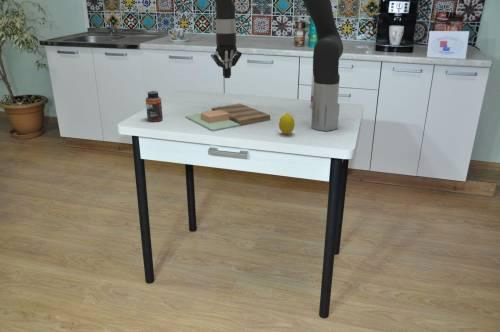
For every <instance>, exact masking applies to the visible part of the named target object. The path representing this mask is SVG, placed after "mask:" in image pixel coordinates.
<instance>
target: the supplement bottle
mask: <svg viewBox="0 0 500 332" xmlns="http://www.w3.org/2000/svg"><path fill="white" fill-rule="evenodd" d="M145 106H146V119H147V121H148V122H151V123H152V122H153V123H155V122H156V123H157V122H161V121H162V120H163V119H164V118H163V105H162V98H161V97H160V96H159V91H157V90H150V91H147V97H146V98H145Z"/></svg>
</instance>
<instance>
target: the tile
mask: <svg viewBox="0 0 500 332" xmlns="http://www.w3.org/2000/svg"><path fill="white" fill-rule="evenodd" d="M200 113H201V119H202V120H204V121H206V122H208V123H214V122H220V121H226V120H230V114H229V113H227V112H225V111H223V110H215V111H212V110H210V111H205V112H200Z"/></svg>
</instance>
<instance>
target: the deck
mask: <svg viewBox="0 0 500 332" xmlns="http://www.w3.org/2000/svg"><path fill="white" fill-rule="evenodd" d="M215 110H223V111H225V112H227V113H229V114H230V120H231V121H233V122H236V123H238V124H240V126H239V127H241V126H247V125H252V124H256V123H262V122H268V121H271V114H268V113H265V112H263V111H260V110H257V109H256V108H253V107H250V106H247V105H245V104H243V103H234V104H229V105H223V106H222V105H221V106H216V107H211V111H215Z"/></svg>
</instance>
